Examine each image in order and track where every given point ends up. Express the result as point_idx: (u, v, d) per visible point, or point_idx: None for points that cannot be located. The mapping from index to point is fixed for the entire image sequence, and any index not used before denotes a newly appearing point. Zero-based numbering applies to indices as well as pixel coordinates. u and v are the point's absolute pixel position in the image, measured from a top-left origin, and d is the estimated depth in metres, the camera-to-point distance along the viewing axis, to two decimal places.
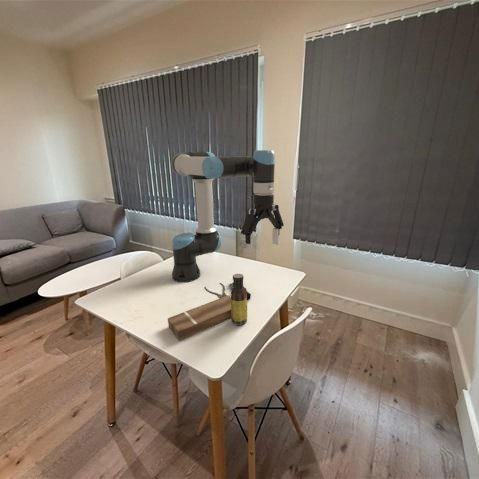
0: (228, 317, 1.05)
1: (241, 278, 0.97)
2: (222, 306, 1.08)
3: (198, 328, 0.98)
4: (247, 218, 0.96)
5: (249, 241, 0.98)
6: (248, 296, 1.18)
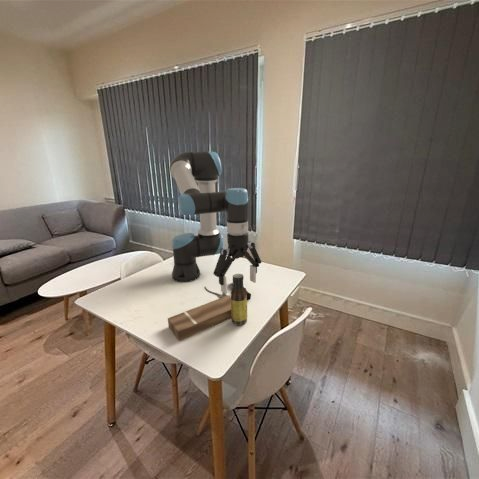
0: (228, 317, 1.05)
1: (241, 278, 0.97)
2: (222, 306, 1.08)
3: (198, 328, 0.98)
4: (220, 259, 0.91)
5: (223, 282, 0.93)
6: (248, 296, 1.18)
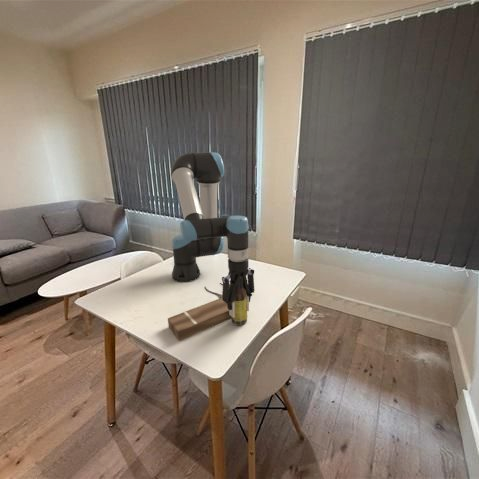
0: (228, 317, 1.05)
1: (241, 278, 0.97)
2: (222, 306, 1.08)
3: (198, 328, 0.98)
4: (224, 287, 0.96)
5: (231, 307, 0.99)
6: None
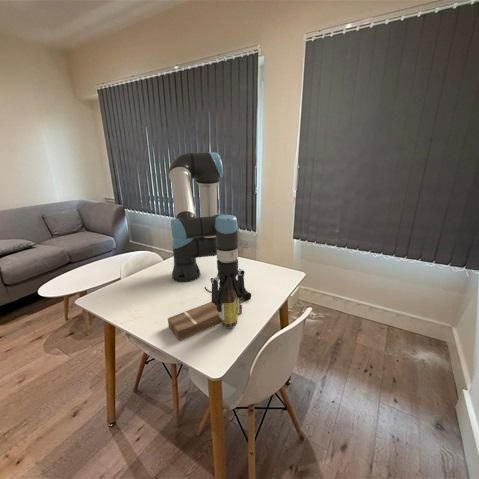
0: None
1: (231, 279, 0.94)
2: None
3: (198, 328, 0.98)
4: (213, 288, 0.93)
5: (220, 309, 0.96)
6: (249, 296, 1.19)
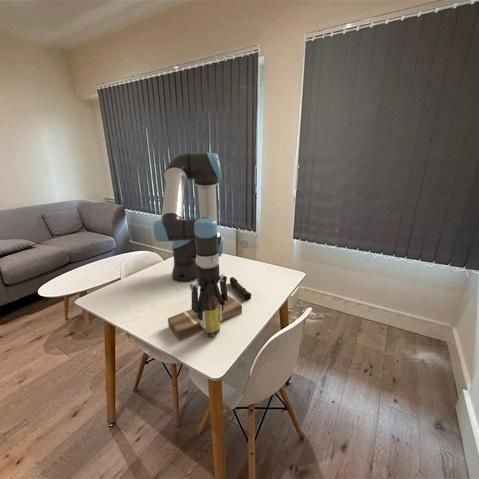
0: (228, 317, 1.05)
1: (212, 286, 0.90)
2: None
3: (198, 328, 0.98)
4: (192, 295, 0.88)
5: (201, 317, 0.92)
6: (249, 296, 1.19)
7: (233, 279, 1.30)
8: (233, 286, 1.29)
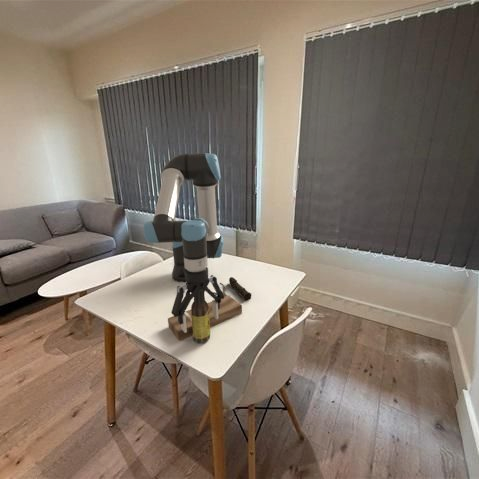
0: (228, 317, 1.05)
1: (201, 291, 0.88)
2: (222, 306, 1.08)
3: None
4: (177, 297, 0.85)
5: (182, 321, 0.87)
6: (249, 296, 1.19)
7: (233, 279, 1.30)
8: (233, 286, 1.28)
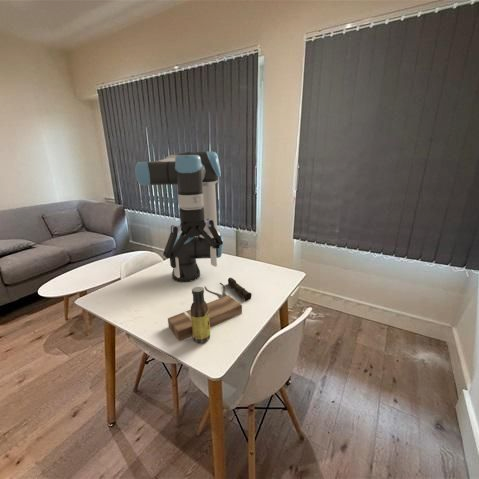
0: (228, 317, 1.05)
1: (201, 292, 0.88)
2: (222, 306, 1.08)
3: None
4: (170, 237, 0.79)
5: (174, 264, 0.81)
6: (249, 296, 1.19)
7: (231, 280, 1.30)
8: (232, 287, 1.28)
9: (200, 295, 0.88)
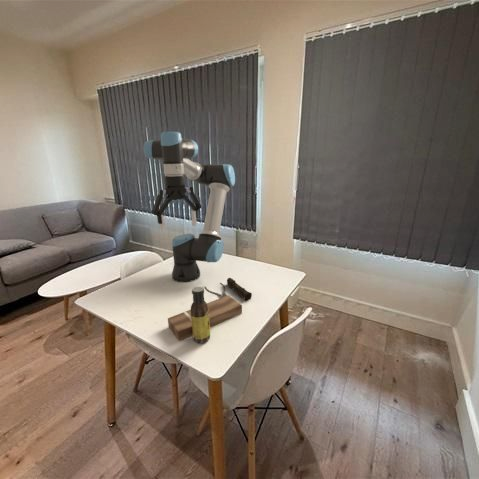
0: (228, 317, 1.05)
1: (201, 292, 0.88)
2: (222, 306, 1.08)
3: None
4: (157, 198, 0.99)
5: (161, 221, 1.01)
6: (249, 296, 1.19)
7: (231, 280, 1.29)
8: (231, 287, 1.28)
9: (200, 295, 0.88)
